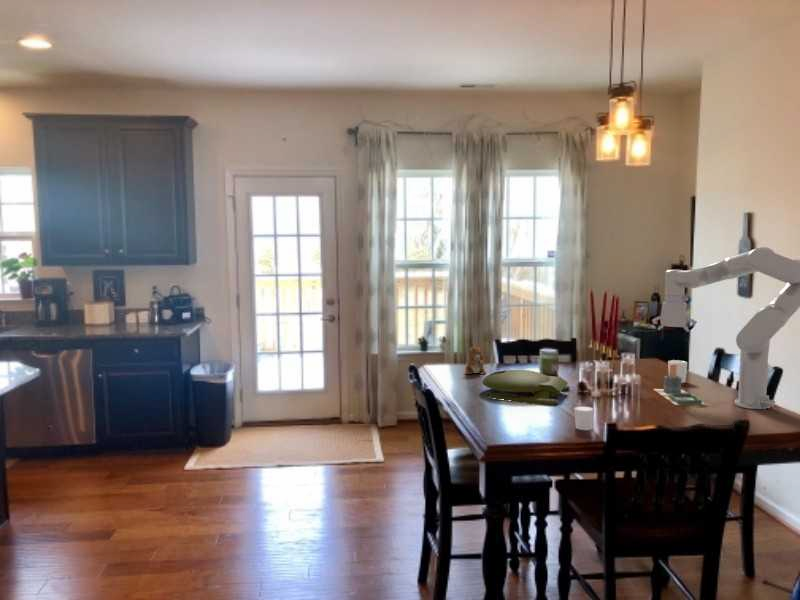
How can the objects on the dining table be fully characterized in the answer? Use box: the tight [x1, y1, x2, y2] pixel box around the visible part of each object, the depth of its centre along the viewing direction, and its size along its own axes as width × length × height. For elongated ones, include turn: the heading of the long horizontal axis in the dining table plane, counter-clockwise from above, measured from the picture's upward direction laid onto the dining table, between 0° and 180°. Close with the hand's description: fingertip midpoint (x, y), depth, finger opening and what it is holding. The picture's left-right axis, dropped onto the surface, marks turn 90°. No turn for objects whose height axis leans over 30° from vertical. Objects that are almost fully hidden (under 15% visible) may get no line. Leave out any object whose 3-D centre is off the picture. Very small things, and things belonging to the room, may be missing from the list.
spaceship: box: [482, 369, 571, 406], centre depth 273 cm, size 35×31×10 cm
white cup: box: [667, 359, 688, 384], centre depth 287 cm, size 8×8×10 cm
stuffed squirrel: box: [465, 346, 487, 375], centre depth 317 cm, size 10×14×13 cm
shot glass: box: [573, 405, 595, 431], centre depth 223 cm, size 7×7×7 cm
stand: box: [653, 375, 708, 408], centre depth 261 cm, size 26×12×8 cm, turn 177°
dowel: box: [668, 364, 677, 378], centre depth 267 cm, size 3×3×12 cm
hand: (673, 340), depth 266 cm, fingers open, 9 cm apart
